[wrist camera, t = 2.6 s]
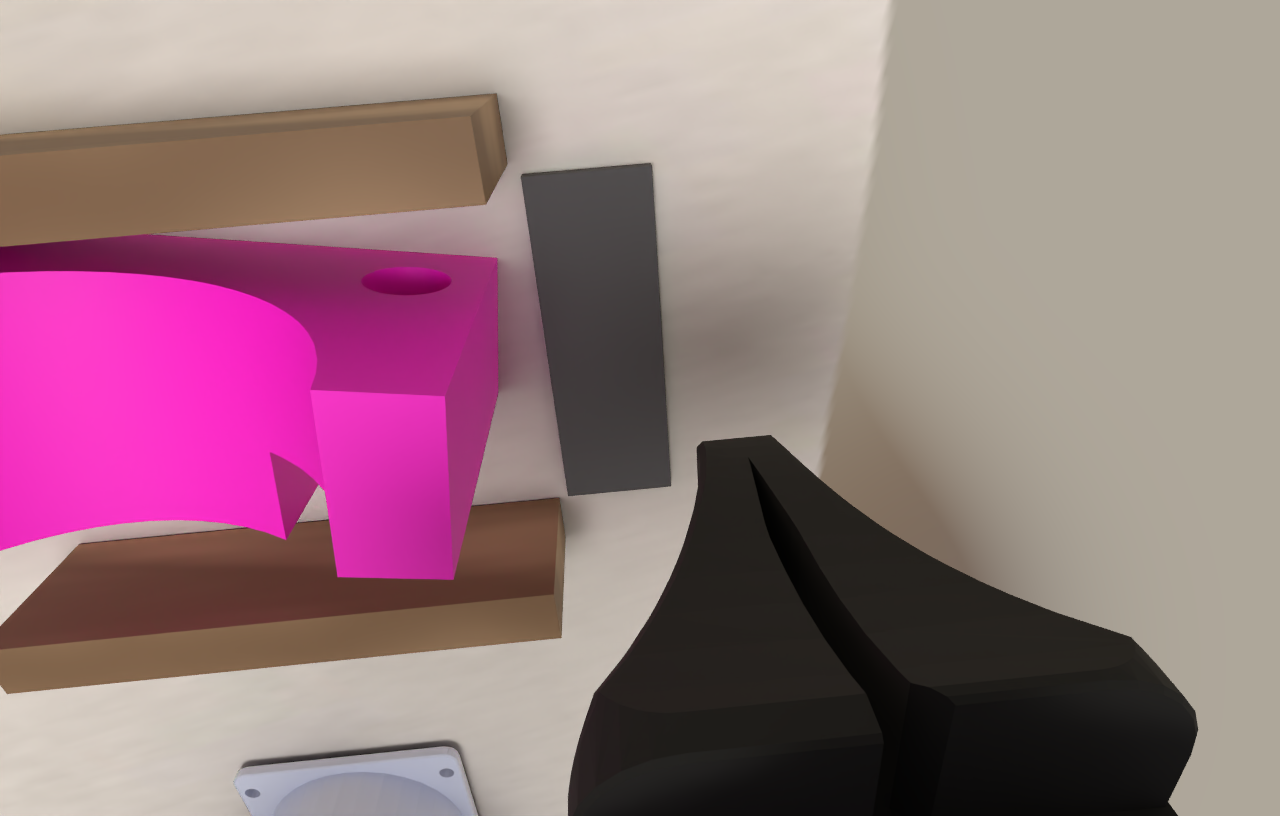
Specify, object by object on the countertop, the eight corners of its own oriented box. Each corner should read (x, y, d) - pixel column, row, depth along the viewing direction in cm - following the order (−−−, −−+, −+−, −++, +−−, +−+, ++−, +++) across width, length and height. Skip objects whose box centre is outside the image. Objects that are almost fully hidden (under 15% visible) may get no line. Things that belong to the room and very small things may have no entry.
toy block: (-66, 444, 19) (-408, 667, 13) (-172, 209, 16) (-692, 342, 10) (499, 466, 21) (458, 676, 14) (498, 255, 18) (444, 396, 11)
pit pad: (670, 480, 21) (671, 485, 21) (568, 490, 21) (568, 496, 21) (650, 163, 17) (651, 165, 16) (521, 174, 16) (520, 176, 16)
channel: (565, 537, 22) (561, 637, 18) (101, 583, 21) (6, 694, 18) (496, 93, 16) (470, 115, 12) (-153, 147, 15) (-372, 186, 12)
